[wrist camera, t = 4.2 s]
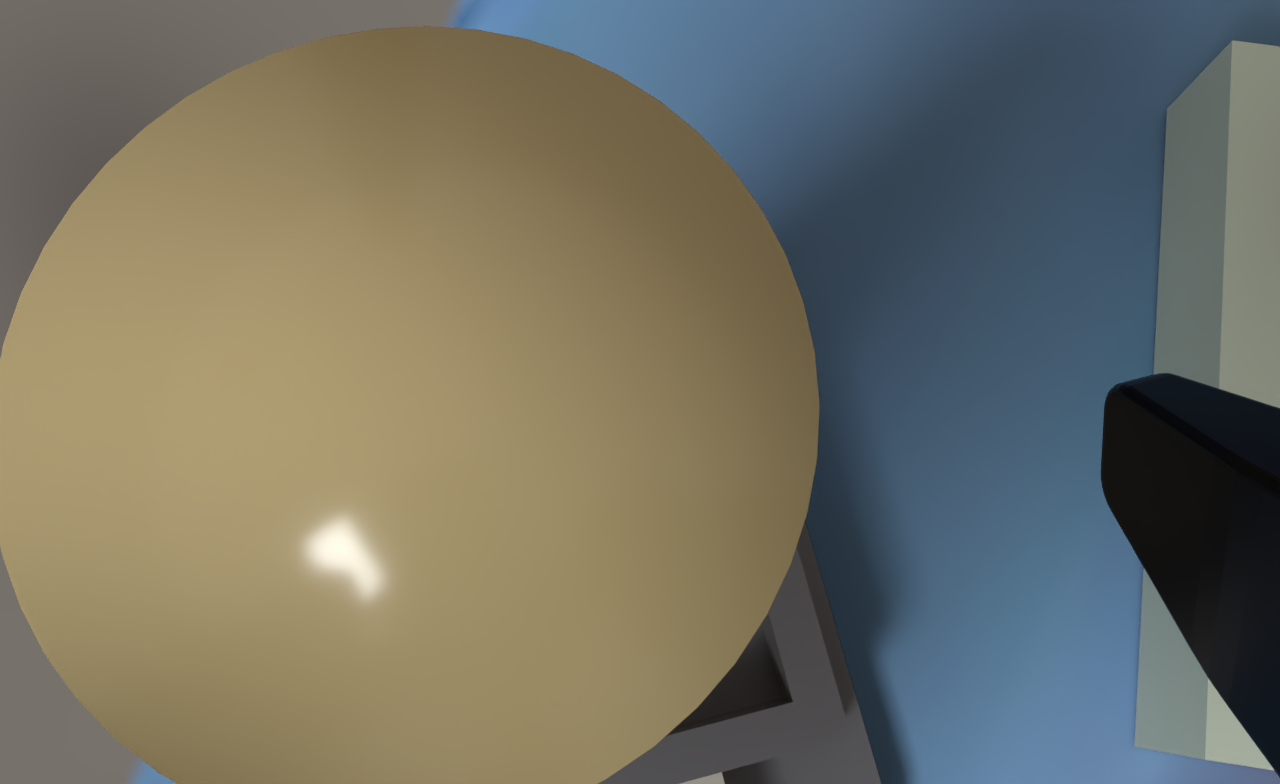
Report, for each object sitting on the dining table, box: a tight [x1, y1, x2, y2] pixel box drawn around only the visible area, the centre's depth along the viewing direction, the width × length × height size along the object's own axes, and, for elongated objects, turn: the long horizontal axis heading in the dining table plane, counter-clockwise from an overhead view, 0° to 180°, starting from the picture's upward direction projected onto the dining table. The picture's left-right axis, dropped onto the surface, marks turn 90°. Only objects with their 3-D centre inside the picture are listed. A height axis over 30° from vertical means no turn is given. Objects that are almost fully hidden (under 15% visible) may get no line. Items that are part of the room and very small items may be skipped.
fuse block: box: [598, 521, 881, 784], centre depth 16 cm, size 9×7×2 cm
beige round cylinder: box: [0, 26, 820, 784], centre depth 11 cm, size 4×4×11 cm
